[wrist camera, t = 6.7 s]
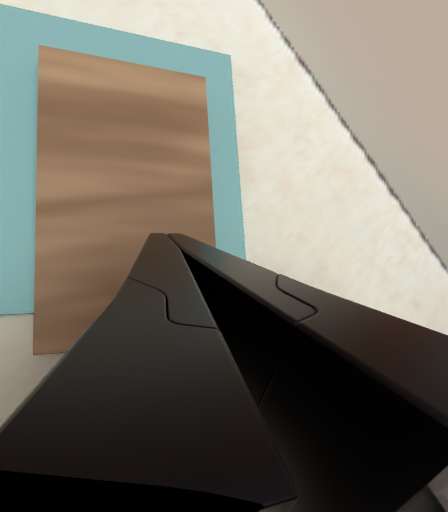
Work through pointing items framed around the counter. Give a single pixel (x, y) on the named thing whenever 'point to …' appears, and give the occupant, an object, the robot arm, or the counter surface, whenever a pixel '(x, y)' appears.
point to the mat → (25, 131)
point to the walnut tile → (110, 180)
